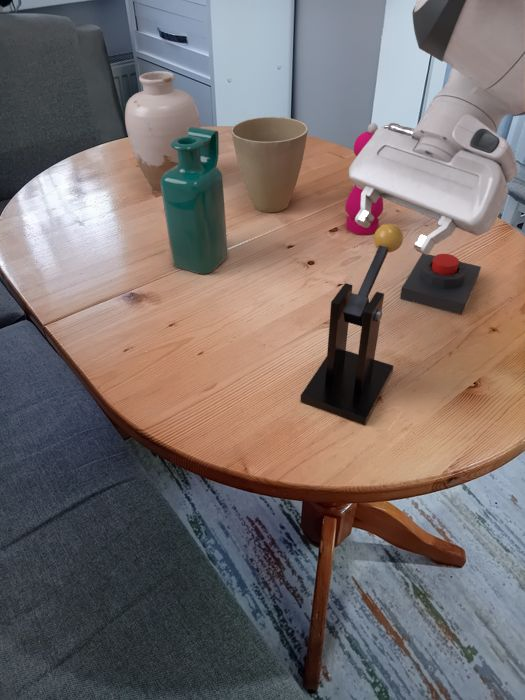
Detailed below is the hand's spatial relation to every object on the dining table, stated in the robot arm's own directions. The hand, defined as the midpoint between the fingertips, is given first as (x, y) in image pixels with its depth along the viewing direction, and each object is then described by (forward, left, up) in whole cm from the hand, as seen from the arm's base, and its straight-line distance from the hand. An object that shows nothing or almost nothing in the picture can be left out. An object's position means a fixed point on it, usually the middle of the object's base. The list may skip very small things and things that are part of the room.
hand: (389, 237), depth 68 cm
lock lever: (0, +4, -4) cm, 6 cm away
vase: (+61, -34, -18) cm, 72 cm away
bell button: (-5, -19, -14) cm, 24 cm away
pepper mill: (+14, -33, -18) cm, 40 cm away
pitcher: (+36, -9, -18) cm, 41 cm away
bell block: (-5, -19, -18) cm, 26 cm away
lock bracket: (0, +10, -18) cm, 20 cm away
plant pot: (+35, -34, -18) cm, 52 cm away
